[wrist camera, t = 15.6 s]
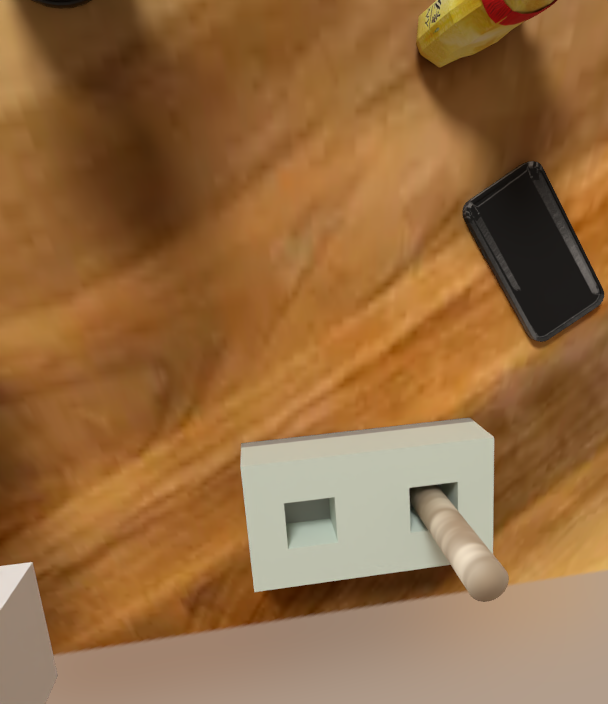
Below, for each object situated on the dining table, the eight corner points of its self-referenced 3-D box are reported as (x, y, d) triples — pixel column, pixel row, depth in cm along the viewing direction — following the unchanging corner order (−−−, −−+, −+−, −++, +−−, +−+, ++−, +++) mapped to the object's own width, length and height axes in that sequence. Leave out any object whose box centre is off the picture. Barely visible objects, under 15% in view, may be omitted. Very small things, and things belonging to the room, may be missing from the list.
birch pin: (404, 503, 49) (467, 604, 35) (402, 474, 48) (466, 567, 34) (434, 498, 49) (508, 597, 35) (432, 470, 48) (508, 560, 35)
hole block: (253, 557, 49) (254, 592, 44) (241, 443, 47) (240, 466, 42) (469, 528, 51) (492, 558, 46) (469, 417, 49) (494, 437, 44)
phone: (536, 155, 43) (608, 299, 47) (529, 157, 44) (600, 298, 48) (460, 208, 43) (537, 347, 47) (455, 208, 45) (530, 344, 48)
